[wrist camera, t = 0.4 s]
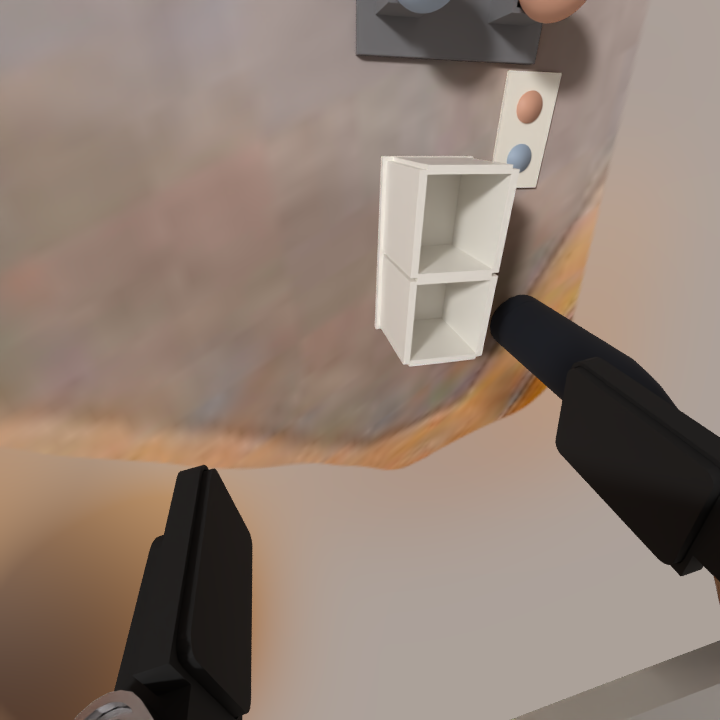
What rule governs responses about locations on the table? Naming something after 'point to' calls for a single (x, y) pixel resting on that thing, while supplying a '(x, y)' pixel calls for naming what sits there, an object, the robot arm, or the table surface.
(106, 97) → the table surface
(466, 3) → the ball stand
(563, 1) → the terracotta ball
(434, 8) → the slate ball
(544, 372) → the wine bottle
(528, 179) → the card
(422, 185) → the two-slot cubby shelf
